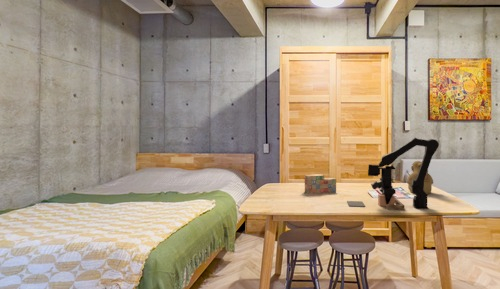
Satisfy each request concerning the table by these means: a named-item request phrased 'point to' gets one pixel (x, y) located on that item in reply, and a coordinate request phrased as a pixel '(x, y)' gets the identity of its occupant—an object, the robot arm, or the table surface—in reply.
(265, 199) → the table surface
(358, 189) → the table surface
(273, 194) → the table surface
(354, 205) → the charcoal mat
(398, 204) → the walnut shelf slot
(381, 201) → the terracotta blank
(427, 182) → the ceramic vessel
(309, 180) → the stack of blocks
